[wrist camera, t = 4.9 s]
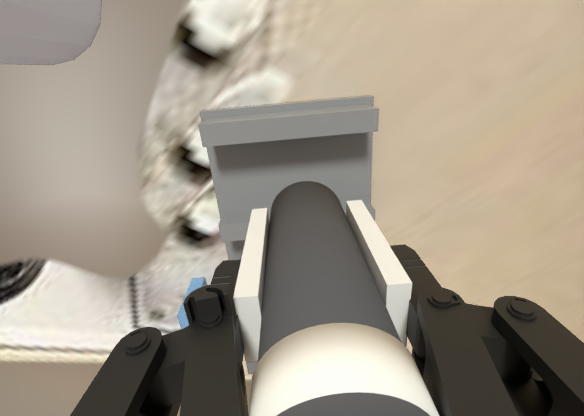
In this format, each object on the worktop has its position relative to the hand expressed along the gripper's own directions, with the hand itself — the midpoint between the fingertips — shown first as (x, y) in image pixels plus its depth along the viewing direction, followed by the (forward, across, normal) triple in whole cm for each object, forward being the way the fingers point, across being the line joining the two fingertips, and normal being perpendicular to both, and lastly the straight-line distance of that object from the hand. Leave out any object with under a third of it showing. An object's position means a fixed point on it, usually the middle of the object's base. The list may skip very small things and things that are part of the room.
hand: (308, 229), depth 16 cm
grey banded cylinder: (+2, 0, 0) cm, 2 cm away
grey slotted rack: (+11, 0, +7) cm, 14 cm away
